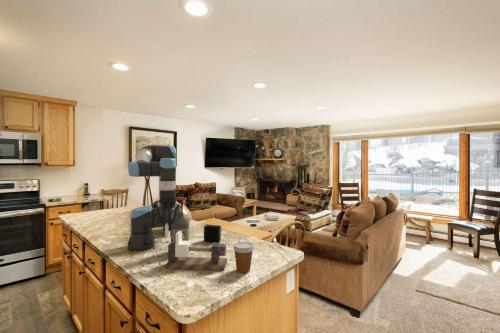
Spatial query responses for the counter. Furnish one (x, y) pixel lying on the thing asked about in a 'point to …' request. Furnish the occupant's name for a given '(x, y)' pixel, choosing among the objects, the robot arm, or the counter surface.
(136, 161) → the robot arm
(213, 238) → the electronic device
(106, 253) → the counter surface
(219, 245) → the rail stand
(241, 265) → the disposable coffee cup
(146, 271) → the counter surface
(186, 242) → the white l-shaped block
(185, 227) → the liquor
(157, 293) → the counter surface
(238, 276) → the counter surface
